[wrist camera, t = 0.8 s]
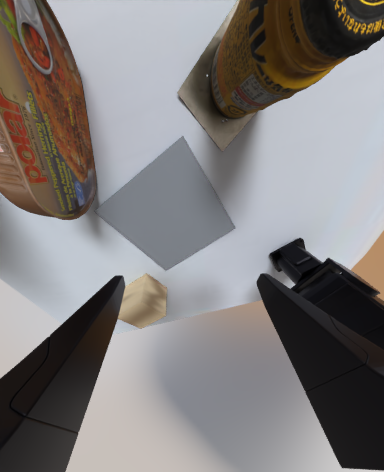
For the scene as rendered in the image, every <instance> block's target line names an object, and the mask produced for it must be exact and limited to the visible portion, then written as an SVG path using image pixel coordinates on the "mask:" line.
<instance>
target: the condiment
mask: <svg viewBox="0 0 384 472" xmlns="http://www.w3.org/2000/svg"><path fill="white" fill-rule="evenodd" d="M382 37H384V0H237V1H236V3H235V5H234V6H233V8H232V9H231V11H230V12H229V14H228V16H227V17H226V19H225V20H224V22H223V23H222V25H221V26H220V28H219V29H218V31H217V32H216V34H215V35H214V37H213V39H212V40H211V42H210V43H209V45H208V46H207V47H206V49H205V51H204V52H203V54H202V55H201V57H200V59H199V60H198V62H197V63H196V65H195V66H194V68H193V69H192V71H191V72H190V74H189V75H188V77H187V78H186V80H185V81H184V83H183V84H182V86H181V88H180V89H179V91H178V92H177V93H178V95H179V96H180V97H181V99H182V100H183V101H184V103H185V104H186V105H187V107H188V108H189V109H190V111H191V112H192V113H193V114H194V116H195V117H196V119H197V120H198V121H199V123H200V124H201V125H202V126H203V128H204V129H205V130H206V132H207V133H208V134H209V135H210V137H211V138H212V139H213V141H214V142H215V143H216V144H217V146H218V147H219V148H220V149H221V151H223V150H224V149H225V148H226V147H227V146H228V145H229V144H230V142H231V141H232V140H233V139H234V138H235V137H236V136H237V134H238V133H239V132H240V131H241V130H242V129H243V127H244V126H245V125H246V124H247V123H248V122H249V120H250V119H251V118H252V117H253V116H254V115H255V113H256V112H257V111H259V110H263V109H265V108H266V107H268V106H270V105H272V104H274V103H276V102H278V101H280V100H283V99H287V98H290V97H291V96H293V95H294V94H295V93H297V92H299V91H302V90H304V89H306V88H308V87H309V86H311V85H312V84H315V83H316V82H318V81H319V80H320V79H322V78H323V77H324V76H325V75H327V74H328V73H329V72H330V71H331V70H332V69H333V68H334V67H335V66H336V65H338V64H340V63H341V62H343V61H344V60H346V59H347V58H348V57H350V56H353V55H355V54H358V53H360V52H361V51H363V50H367V49H368V48H369V47H370V46H371V45H372V44H374V43H376V42H377V41H380V39H381V38H382ZM207 74H208V77H206V75H207ZM226 119H228V121H225V122H221V121H222V120H226Z"/></svg>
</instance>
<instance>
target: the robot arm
mask: <svg viewBox="0 0 384 472" xmlns="http://www.w3.org/2000/svg"><path fill="white" fill-rule="evenodd" d="M270 256H271V259H272V261H273V263H274V265H275V267H276V270H277V271H278V272H280V271H282V270H283V271H284V272H285V274H286V275H287V276H288V277H289V278H290V279H291V280H292V281H293V282H294V283H295V284H296V285H295V286H293V287H292V288H291V289H290V288H288V287H287V286H285V285H284V284H282V283H281V282H279V281H278V280H276V279H275V278H273V277H272V276H270V275H269V274H266V273H264V274H260V276H259V278H258V280H257V287H258V289H259V292H260V295H261V297H262V300H263V303H264V305H265V308H266V310H267V312H268V314H269V316H270V318H271V320H272V322H273V325H274V327H275V329H276V331H277V333H278V335H279V337H280V339H281V342H282V344H283V346H284V348H285V350H286V352H287V354H288V356H289V358H290V361H291V363H292V365H293V367H294V369H295V371H296V373H297V375H298V377H299V379H300V382H301V384H302V386H303V388H304V390H305V391H306V395H307V397H308V399H309V400H310V403H311V405H312V407H313V409H314V411H315V413H316V416H317V418H318V420H319V422H320V424H321V426H322V428H323V430H324V433H325V435H326V437H327V439H328V441H329V443H330V445H331V447H332V449H333V452H334V454H335V456H336V458H337V460H338V462H339V464H340V465H341V467H342V468H350V469H368V470H384V301H383V300H381V299H380V298H378V297H377V296H376V295H378V294H380V292H379V291H378V290H376V289H375V288H374V287H373V286H371V285H370V284H369V283H367V282H366V281H365V280H363V279H362V278H361V277H360V276H358V275H357V274H355V273H354V272H352V271H351V270H349V269H348V268H346V267H345V266H343V265H341V264H339V263H337V262H336V261H334V260H332V259H330V258H327V259H326V261H325V262H324V263H322V262H321V261H320V260H318V259H317V258H316V257H314V256H313V255H312V254H310V253H309V252H308V251H306V249H305V245H304V240H303V239H302V238H299V239H297V240H295V241H293V242H291V243H289V244H287V245H286V246H284V247H282V248H280V249H278V250H276V251H274V252H272V253H271V254H270ZM341 272H342V273H341ZM339 273H341V274H339ZM124 290H125V282H124V277H123V276H114V277H113V278H112V279H111V280H110V281H109V282H108V283H107V284H106V285H104V286H103V287H102V288H101V289H100V290H99V291H98V292H97V293H96V294H95V295H93V296H92V297H91V298H90V299H89V300H88V301H87V302H86V303H85V304H84V305H83V306H81V307H80V308H79V309H78V310H77V311H76V312H75V313H74V314H73V315H72V316H71V317H69V318H68V319H67V320H66V321H65V322H64V323H63V324H62V325H61V326H60V327H59V328H58V329H56V330H55V331H54V332H53V333H52V334H51V335H50V337H48V338H46V339H45V340H44V341H43V342H42V343H41V344H40V345H39V346H38V347H37V348H35V349H34V350H33V351H32V352H31V353H30V354H29V355H28V356H26V357H25V358H24V359H23V360H22V361H21V362H20V363H18V364H17V365H16V366H15V367H14V368H12V369H11V370H10V371H9V372H8V373H7V374H5V375H4V376H3V377H2V378H1V379H0V472H65V471H66V468H67V465H68V462H69V460H70V456H71V454H72V451H73V448H74V445H75V442H76V439H77V436H78V432H79V430H80V427H81V424H82V421H83V418H84V415H85V412H86V410H87V407H88V403H89V401H90V398H91V395H92V392H93V389H94V386H95V383H96V380H97V377H98V375H99V372H100V368H101V366H102V362H103V360H104V357H105V354H106V351H107V348H108V345H109V342H110V340H111V337H112V334H113V331H114V328H115V325H116V322H117V319H118V316H119V312H120V308H121V304H122V299H123V295H124Z"/></svg>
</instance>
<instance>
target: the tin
mask: <svg viewBox="0 0 384 472" xmlns="http://www.w3.org/2000/svg"><path fill="white" fill-rule="evenodd" d="M0 192H1V193H2V194H3V195H4V196H5V197H6V198H7V199H8V200H9V201H10V202H12V203H13V204H14V205H16V206H17V207H19V208H21V209H23V210H25V211H28V212H30V213H34V214H38V215H43V216H49V217H56V218H58V219H62V220H73V219H77V218H79V217H80V216H82V215H83V214H85V213H86V211H87V210H88V209H89V207H90V206H91V204H92V202H93V199H94V196H95V192H96V171H95V165H94V158H93V151H92V145H91V139H90V132H89V126H88V119H87V113H86V106H85V99H84V93H83V87H82V83H81V78H80V75H79V72H78V68H77V65H76V62H75V59H74V56H73V54H72V51H71V48H70V46H69V43H68V41H67V39H66V37H65V34H64V32H63V30H62V28H61V26H60V24H59V22H58V20H57V18H56V16H55V15H54V13H53V11H52V9H51V7H50V6H49V4H48V2H47V1H46V0H0Z"/></svg>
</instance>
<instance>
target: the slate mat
mask: <svg viewBox="0 0 384 472" xmlns="http://www.w3.org/2000/svg"><path fill="white" fill-rule="evenodd" d="M94 212H95V213H96V214H97V215H99V216H100V217H101V218H102V219H104V220H105V221H106V222H107V223H108V224H110V225H111V226H112V227H113V228H115V229H116V230H117V231H118V232H119V233H121V234H122V235H123V236H124V237H126V238H127V239H128V240H129V241H130V242H132V243H133V244H134V245H135V246H136V247H138V248H139V249H140V250H141V251H143V252H144V253H145V254H146V255H147V256H149V257H150V258H151V259H152V260H154V261H155V262H156V263H157V264H158V265H160V266H161V267H162V268H163V269H165V270H168V269H169V268H171V267H173V266H174V265H176V264H177V263H179V262H181V261H182V260H184V259H186V258H187V257H189V256H191V255H192V254H194V253H196V252H197V251H199V250H200V249H202V248H204V247H205V246H207V245H209V244H210V243H212V242H214V241H215V240H217V239H219V238H220V237H222V236H223V235H225V234H227V233H228V232H230V231H232V230H233V229H235V226H234V225H233V223H232V221H231V219H230V218H229V216H228V214H227V212H226V210H225V209H224V207H223V205H222V203H221V202H220V200H219V198H218V196H217V195H216V193H215V191H214V189H213V188H212V186H211V184H210V182H209V181H208V179H207V177H206V175H205V174H204V172H203V170H202V168H201V167H200V165H199V163H198V161H197V160H196V158H195V156H194V154H193V153H192V151H191V149H190V147H189V146H188V144H187V142H186V140H185V139H184V137H183V136H182V137H181V138H180V139H179V140H178V141H176V142H175V143H174V144H173V145H172V146H170V147H169V148H168V149H167V150H166V151H165V152H163V153H162V154H161V155H160V156H159V157H157V158H156V159H155V160H154V161H153V162H152V163H150V164H149V165H148V166H147V167H146V168H145V169H143V170H142V171H141V172H140V173H139V174H137V175H136V176H135V177H134V178H133V179H132V180H130V181H129V182H128V183H127V184H126V185H124V186H123V187H122V188H121V189H120V190H119V191H117V192H116V193H115V194H114V195H113V196H112V197H110V198H109V199H108V200H107V201H106V202H104V203H103V204H102V205H101V206H100V207H99V208H97V209H96V210H95V211H94Z"/></svg>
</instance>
